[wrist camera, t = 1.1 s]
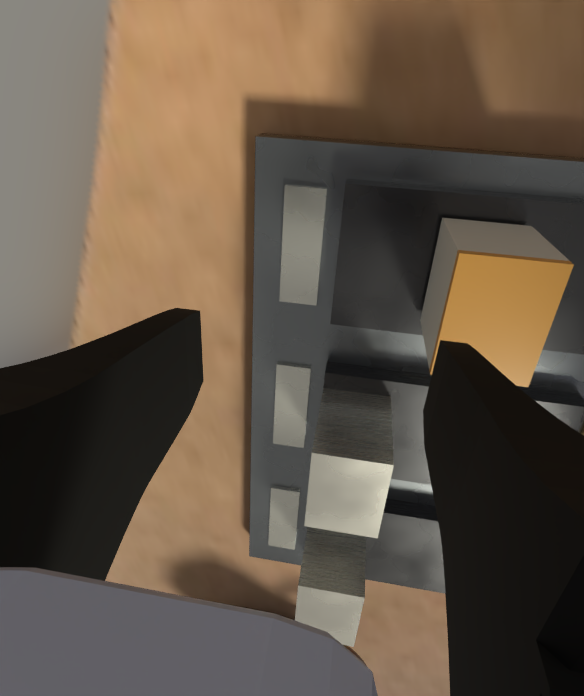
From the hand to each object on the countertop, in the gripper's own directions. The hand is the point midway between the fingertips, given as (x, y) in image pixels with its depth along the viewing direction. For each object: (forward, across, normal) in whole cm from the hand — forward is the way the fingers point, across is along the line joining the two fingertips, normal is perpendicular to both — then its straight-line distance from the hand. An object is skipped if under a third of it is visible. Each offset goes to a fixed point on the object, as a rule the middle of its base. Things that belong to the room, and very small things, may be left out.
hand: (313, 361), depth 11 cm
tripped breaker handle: (+7, -5, 0) cm, 9 cm away
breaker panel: (+10, -6, +8) cm, 14 cm away
